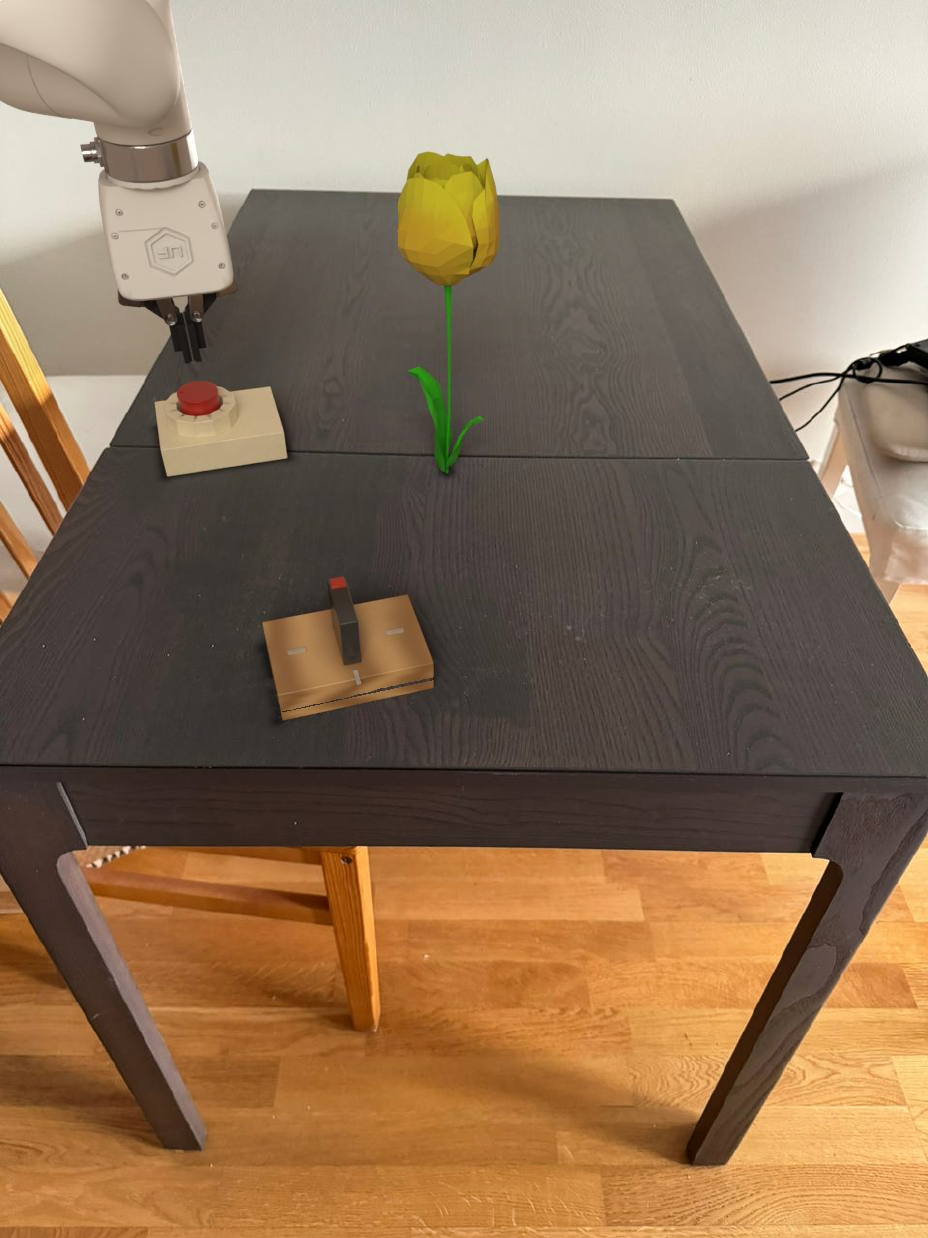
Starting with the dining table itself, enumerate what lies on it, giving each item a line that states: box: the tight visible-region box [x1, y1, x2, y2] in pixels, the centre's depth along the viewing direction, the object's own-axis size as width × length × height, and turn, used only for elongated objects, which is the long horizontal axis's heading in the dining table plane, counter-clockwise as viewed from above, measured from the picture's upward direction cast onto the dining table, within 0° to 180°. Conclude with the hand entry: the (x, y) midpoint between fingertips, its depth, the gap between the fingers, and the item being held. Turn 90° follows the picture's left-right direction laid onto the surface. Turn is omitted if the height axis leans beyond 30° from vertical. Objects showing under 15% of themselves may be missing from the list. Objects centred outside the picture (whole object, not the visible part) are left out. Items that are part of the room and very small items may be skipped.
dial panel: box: [261, 594, 435, 721], centre depth 74 cm, size 12×9×3 cm
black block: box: [326, 576, 361, 665], centre depth 71 cm, size 5×1×5 cm, turn 16°
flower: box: [396, 151, 501, 474], centre depth 83 cm, size 9×8×30 cm
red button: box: [176, 380, 221, 416], centre depth 92 cm, size 4×4×2 cm
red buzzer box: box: [154, 385, 288, 477], centre depth 95 cm, size 12×9×5 cm
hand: (192, 355), depth 89 cm, fingers closed
